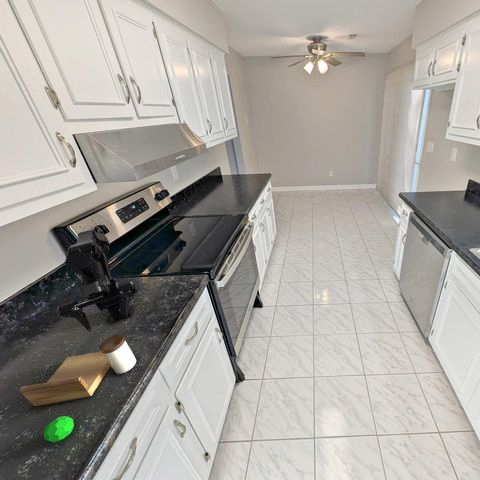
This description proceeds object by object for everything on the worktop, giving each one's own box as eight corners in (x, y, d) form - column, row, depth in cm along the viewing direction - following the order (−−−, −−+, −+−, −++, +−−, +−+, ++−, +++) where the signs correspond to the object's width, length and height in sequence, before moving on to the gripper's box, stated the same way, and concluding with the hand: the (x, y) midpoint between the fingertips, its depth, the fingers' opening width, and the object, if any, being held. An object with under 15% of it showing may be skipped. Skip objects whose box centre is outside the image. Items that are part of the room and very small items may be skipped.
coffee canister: (110, 368, 77) (95, 345, 72) (131, 354, 81) (118, 331, 76) (119, 377, 74) (104, 354, 69) (140, 362, 78) (127, 339, 74)
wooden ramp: (71, 361, 80) (59, 345, 77) (118, 353, 82) (108, 337, 78) (34, 406, 68) (17, 390, 64) (91, 396, 69) (77, 379, 66)
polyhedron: (62, 424, 63) (51, 413, 61) (82, 421, 63) (73, 410, 61) (44, 448, 59) (32, 437, 57) (67, 445, 59) (56, 434, 57)
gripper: (40, 284, 69) (55, 337, 66) (121, 259, 79) (138, 305, 76) (59, 293, 78) (74, 340, 75) (130, 270, 88) (145, 311, 85)
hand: (109, 323), depth 78 cm, fingers open, 9 cm apart
